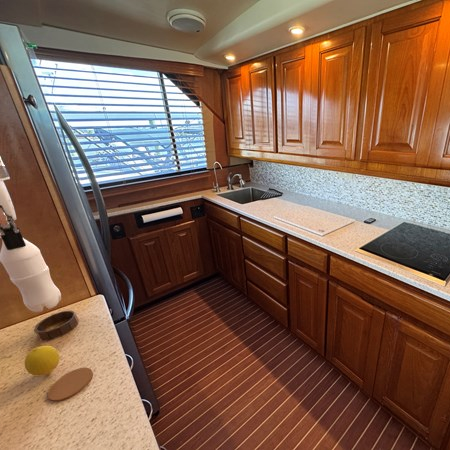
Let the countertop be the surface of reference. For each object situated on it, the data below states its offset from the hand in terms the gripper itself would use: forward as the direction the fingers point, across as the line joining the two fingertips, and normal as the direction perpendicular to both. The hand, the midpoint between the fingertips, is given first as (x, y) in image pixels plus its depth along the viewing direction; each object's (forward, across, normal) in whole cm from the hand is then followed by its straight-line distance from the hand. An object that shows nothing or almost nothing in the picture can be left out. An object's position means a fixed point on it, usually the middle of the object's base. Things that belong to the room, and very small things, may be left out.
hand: (16, 244), depth 62 cm
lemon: (+29, +18, -4) cm, 34 cm away
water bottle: (+20, 0, 0) cm, 20 cm away
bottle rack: (+28, 0, +1) cm, 28 cm away
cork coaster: (+28, +26, -1) cm, 39 cm away
